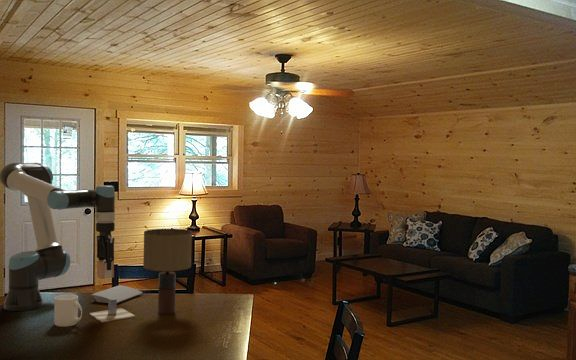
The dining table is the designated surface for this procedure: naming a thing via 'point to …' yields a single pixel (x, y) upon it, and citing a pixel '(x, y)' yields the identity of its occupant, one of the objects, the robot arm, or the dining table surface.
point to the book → (116, 294)
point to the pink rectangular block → (103, 269)
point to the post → (112, 306)
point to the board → (105, 317)
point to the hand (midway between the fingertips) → (105, 276)
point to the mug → (66, 310)
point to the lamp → (167, 261)
